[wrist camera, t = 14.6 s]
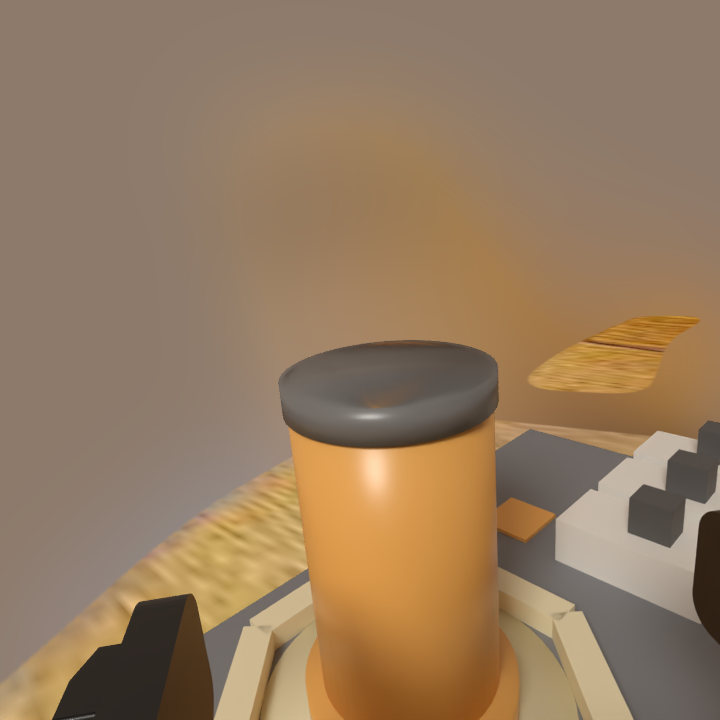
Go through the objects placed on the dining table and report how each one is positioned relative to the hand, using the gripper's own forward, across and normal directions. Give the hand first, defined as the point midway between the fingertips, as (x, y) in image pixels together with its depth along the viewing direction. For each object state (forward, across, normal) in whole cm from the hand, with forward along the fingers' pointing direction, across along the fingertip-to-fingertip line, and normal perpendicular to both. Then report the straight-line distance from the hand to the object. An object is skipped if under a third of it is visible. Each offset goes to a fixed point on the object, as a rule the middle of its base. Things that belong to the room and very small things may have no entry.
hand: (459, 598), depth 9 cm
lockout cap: (+6, 0, +8) cm, 10 cm away
